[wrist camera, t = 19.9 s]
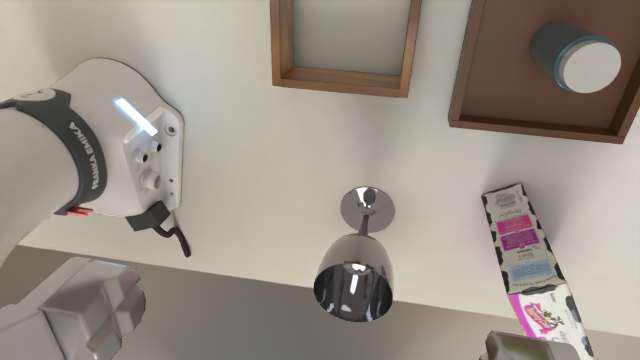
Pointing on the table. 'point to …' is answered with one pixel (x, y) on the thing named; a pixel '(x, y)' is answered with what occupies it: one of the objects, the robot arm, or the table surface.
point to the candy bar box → (532, 271)
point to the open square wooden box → (335, 79)
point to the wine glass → (358, 261)
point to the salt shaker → (575, 56)
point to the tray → (533, 83)
